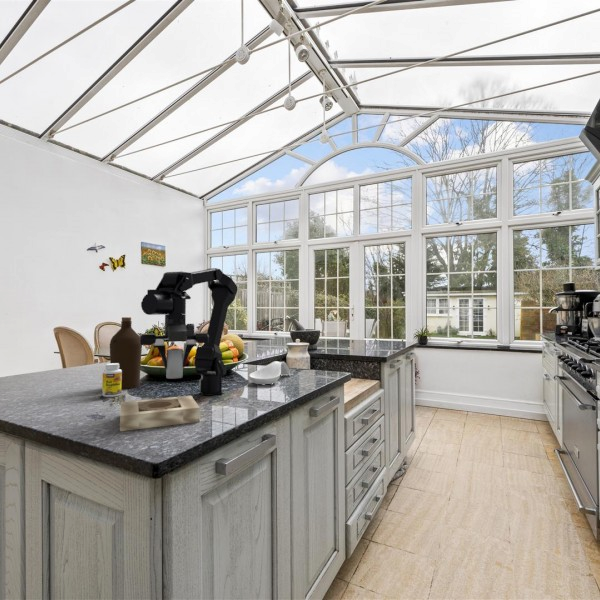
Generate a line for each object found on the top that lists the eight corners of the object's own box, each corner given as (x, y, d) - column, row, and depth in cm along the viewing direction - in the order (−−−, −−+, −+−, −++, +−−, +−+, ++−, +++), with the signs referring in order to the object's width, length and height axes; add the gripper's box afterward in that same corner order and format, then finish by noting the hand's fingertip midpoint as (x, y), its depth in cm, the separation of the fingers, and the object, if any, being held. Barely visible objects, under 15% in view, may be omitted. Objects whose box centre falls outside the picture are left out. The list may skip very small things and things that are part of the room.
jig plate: (190, 407, 106) (191, 395, 106) (199, 421, 93) (199, 407, 93) (120, 415, 98) (121, 402, 99) (120, 431, 86) (120, 416, 86)
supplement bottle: (103, 398, 117) (103, 365, 117) (101, 394, 122) (101, 363, 122) (122, 396, 120) (123, 364, 120) (120, 392, 125) (120, 362, 125)
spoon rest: (271, 388, 133) (271, 368, 133) (243, 386, 138) (243, 366, 138) (297, 377, 155) (297, 360, 155) (272, 375, 159) (272, 358, 160)
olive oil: (137, 389, 130) (138, 317, 130) (104, 390, 128) (105, 317, 129) (144, 383, 140) (145, 317, 141) (114, 384, 139) (115, 317, 139)
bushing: (181, 375, 111) (181, 348, 111) (183, 377, 107) (184, 349, 107) (165, 376, 109) (166, 348, 109) (167, 379, 105) (167, 350, 105)
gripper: (141, 314, 97) (140, 374, 97) (213, 314, 105) (212, 370, 105) (140, 314, 107) (139, 368, 107) (205, 314, 115) (205, 365, 115)
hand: (174, 368), depth 108 cm, fingers closed on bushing, 4 cm apart
